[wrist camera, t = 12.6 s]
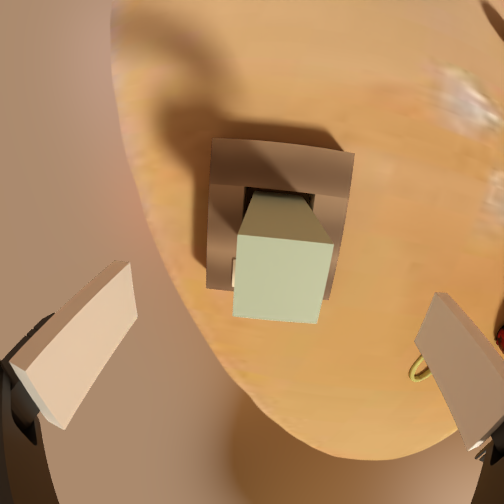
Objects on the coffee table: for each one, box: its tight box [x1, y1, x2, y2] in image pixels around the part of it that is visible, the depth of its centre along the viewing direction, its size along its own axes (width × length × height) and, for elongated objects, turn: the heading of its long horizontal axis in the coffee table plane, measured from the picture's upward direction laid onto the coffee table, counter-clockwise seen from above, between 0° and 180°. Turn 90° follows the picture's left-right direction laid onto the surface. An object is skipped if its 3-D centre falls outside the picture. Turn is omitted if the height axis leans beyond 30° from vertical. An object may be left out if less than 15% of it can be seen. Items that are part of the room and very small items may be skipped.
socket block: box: [206, 138, 355, 300], centre depth 25 cm, size 14×12×3 cm
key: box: [409, 355, 432, 382], centre depth 32 cm, size 7×12×2 cm, turn 84°
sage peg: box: [233, 191, 334, 324], centre depth 20 cm, size 4×4×14 cm
